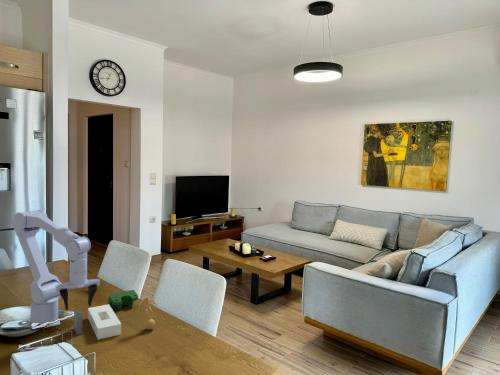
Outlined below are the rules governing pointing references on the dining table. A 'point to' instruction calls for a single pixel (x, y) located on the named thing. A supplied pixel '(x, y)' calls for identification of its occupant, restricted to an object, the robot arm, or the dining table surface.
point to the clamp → (122, 299)
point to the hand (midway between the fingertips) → (78, 306)
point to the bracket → (78, 322)
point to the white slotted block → (104, 321)
